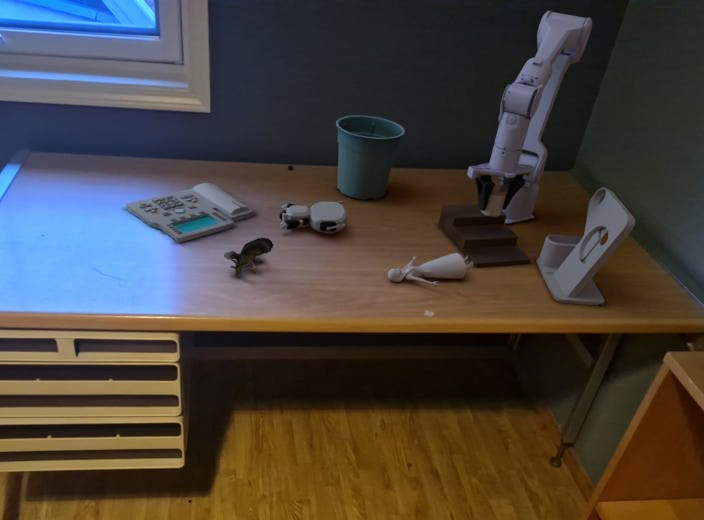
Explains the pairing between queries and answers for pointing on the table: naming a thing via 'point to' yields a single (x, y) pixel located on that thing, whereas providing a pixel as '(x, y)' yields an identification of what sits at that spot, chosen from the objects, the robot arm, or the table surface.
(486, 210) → the jar
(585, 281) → the phone holder
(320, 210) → the robot toy
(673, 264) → the table surface
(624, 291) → the table surface
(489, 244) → the step shelf
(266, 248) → the brown animal figurine
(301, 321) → the table surface
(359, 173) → the flower pot
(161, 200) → the office telephone
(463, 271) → the woman figurine
